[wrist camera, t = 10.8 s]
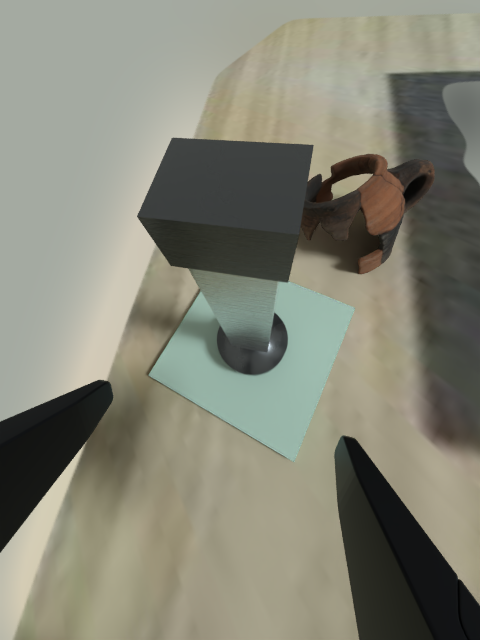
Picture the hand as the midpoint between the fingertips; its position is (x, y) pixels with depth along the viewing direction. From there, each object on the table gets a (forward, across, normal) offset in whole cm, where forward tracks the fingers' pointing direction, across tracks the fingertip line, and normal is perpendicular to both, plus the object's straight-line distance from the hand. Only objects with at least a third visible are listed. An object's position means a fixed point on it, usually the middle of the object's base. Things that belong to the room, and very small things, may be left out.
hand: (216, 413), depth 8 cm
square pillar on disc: (+12, 0, +4) cm, 12 cm away
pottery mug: (+22, -8, -6) cm, 24 cm away
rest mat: (+12, 0, +4) cm, 13 cm away
